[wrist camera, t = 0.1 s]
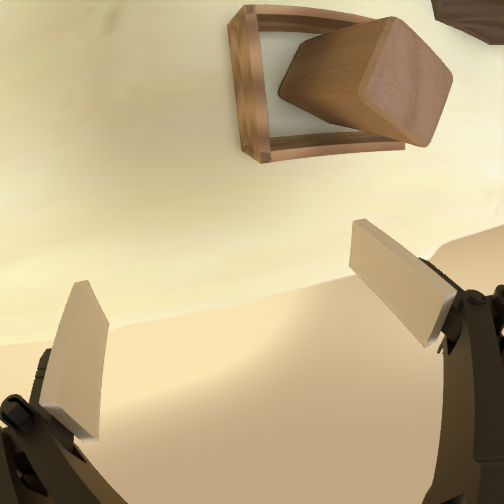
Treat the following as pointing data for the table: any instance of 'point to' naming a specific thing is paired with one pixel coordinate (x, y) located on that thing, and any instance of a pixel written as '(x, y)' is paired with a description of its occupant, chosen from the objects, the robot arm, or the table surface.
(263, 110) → the cubby
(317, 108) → the block
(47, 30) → the table surface
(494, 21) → the wooden crate
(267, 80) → the table surface
